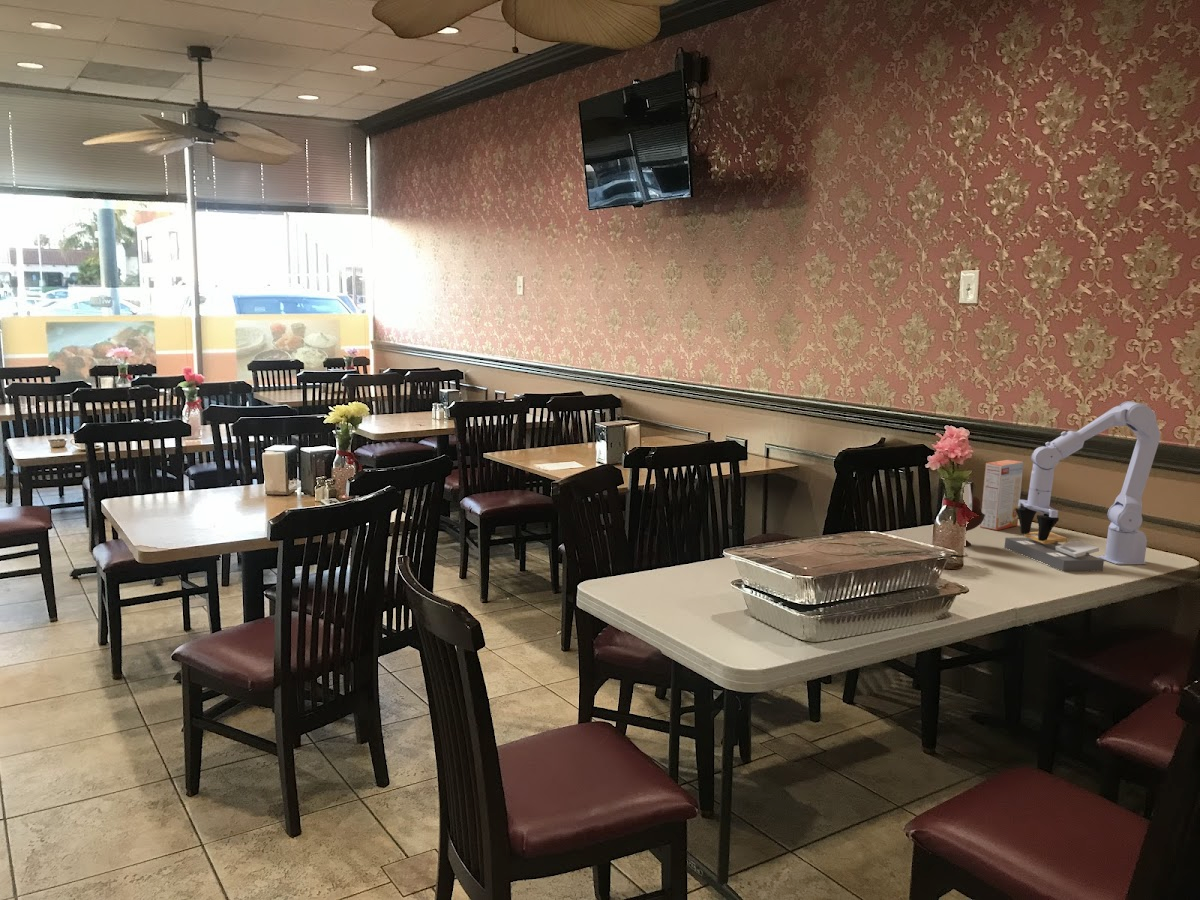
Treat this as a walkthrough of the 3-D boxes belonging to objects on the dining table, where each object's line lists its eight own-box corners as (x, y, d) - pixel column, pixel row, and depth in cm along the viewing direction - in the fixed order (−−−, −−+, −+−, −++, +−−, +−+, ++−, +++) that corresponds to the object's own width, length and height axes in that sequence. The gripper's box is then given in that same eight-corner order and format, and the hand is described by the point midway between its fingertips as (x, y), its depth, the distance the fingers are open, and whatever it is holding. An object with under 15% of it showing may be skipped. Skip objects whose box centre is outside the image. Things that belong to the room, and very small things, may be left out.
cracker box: (1000, 522, 309) (1006, 458, 306) (1018, 526, 305) (1025, 461, 302) (978, 527, 300) (985, 461, 297) (996, 531, 296) (1003, 464, 293)
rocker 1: (1045, 535, 274) (1046, 530, 273) (1067, 543, 265) (1067, 537, 265) (1024, 538, 272) (1024, 532, 272) (1044, 546, 264) (1044, 540, 263)
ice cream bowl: (974, 540, 281) (979, 490, 279) (985, 550, 270) (991, 498, 268) (937, 538, 282) (942, 488, 280) (947, 547, 271) (952, 495, 269)
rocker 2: (1078, 545, 260) (1077, 540, 260) (1099, 553, 253) (1098, 547, 252) (1055, 552, 259) (1055, 546, 259) (1075, 559, 252) (1075, 553, 251)
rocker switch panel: (1053, 547, 277) (1054, 536, 277) (1115, 570, 253) (1117, 559, 252) (1004, 547, 274) (1005, 536, 273) (1062, 571, 250) (1064, 559, 249)
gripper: (1011, 484, 272) (1005, 530, 274) (1044, 494, 258) (1037, 543, 260) (1033, 484, 273) (1026, 531, 275) (1067, 495, 259) (1060, 543, 261)
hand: (1033, 537), depth 268 cm, fingers open, 7 cm apart
